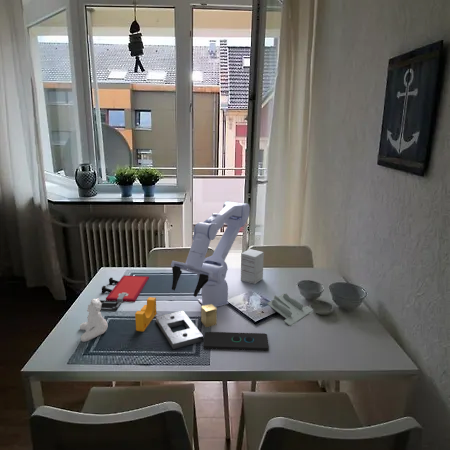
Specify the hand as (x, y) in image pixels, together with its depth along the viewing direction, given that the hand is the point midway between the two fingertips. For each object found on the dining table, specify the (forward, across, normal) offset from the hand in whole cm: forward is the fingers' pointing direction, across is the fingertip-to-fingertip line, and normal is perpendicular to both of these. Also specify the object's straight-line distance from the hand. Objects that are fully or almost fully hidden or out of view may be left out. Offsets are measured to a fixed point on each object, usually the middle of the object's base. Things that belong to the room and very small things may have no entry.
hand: (183, 292), depth 123 cm
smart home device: (+10, +21, +2) cm, 23 cm away
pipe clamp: (+12, -12, +9) cm, 19 cm away
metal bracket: (-6, +35, +19) cm, 40 cm away
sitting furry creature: (+20, -24, +2) cm, 32 cm away
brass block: (+6, +10, +10) cm, 15 cm away
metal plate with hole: (+12, +1, +5) cm, 13 cm away
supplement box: (-19, +18, +40) cm, 48 cm away
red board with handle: (+4, -30, +25) cm, 39 cm away
